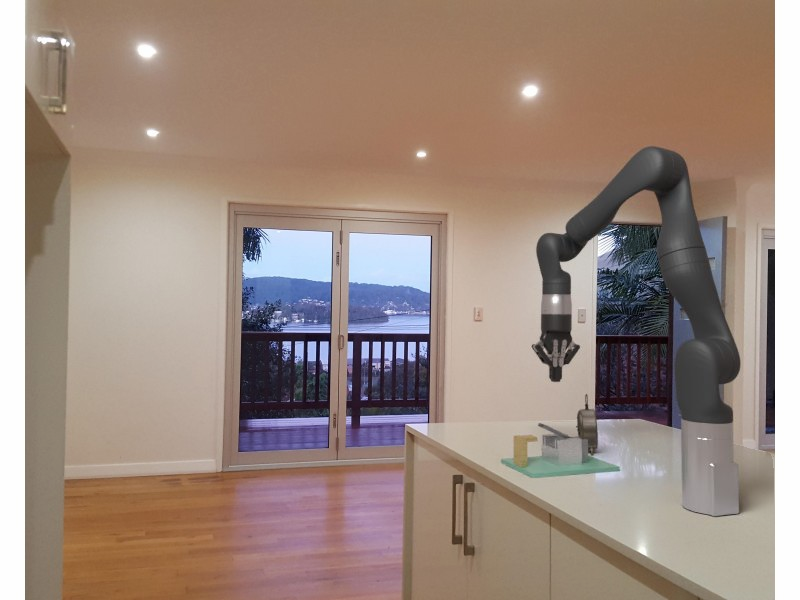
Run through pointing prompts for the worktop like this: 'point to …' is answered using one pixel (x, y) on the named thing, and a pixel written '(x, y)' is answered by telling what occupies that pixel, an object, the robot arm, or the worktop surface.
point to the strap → (553, 430)
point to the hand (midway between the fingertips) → (555, 381)
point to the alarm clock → (588, 426)
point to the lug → (522, 449)
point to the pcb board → (545, 469)
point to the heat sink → (564, 450)
